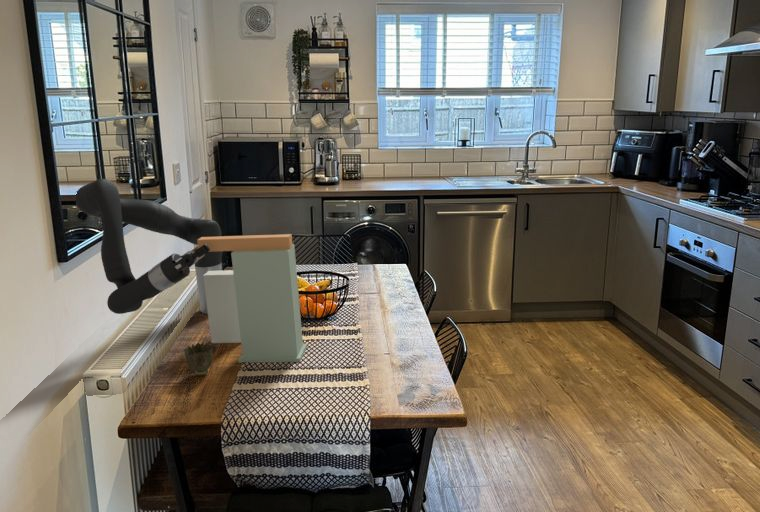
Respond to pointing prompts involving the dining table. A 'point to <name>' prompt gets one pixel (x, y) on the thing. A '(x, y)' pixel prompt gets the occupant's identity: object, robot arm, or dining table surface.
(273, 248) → the bar
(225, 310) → the post
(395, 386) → the dining table surface
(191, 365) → the cup
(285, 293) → the stand
